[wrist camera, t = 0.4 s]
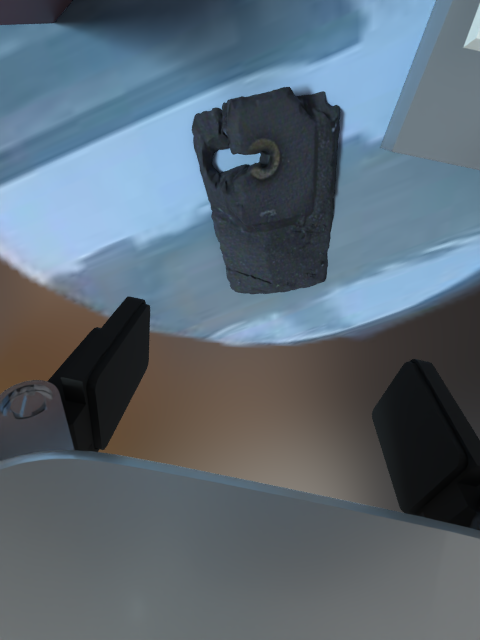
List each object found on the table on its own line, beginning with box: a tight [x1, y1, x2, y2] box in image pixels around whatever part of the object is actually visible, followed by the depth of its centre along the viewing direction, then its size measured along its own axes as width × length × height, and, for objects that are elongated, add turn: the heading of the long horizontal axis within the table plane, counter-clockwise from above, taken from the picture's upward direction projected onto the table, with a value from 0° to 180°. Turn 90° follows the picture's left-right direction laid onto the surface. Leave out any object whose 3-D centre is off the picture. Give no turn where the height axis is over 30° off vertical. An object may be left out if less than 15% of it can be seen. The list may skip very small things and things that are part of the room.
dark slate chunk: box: [192, 87, 340, 294], centre depth 35 cm, size 15×22×5 cm
